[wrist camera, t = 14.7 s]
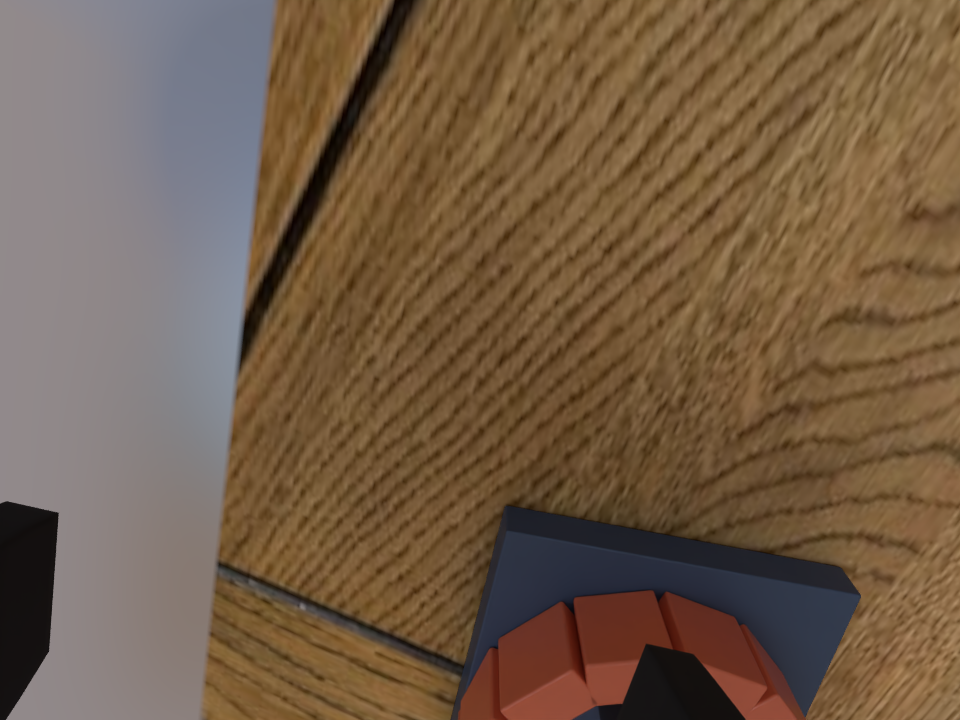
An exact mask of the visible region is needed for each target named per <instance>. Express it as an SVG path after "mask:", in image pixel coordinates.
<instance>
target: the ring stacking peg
mask: <svg viewBox="0 0 960 720" xmlns="http://www.w3.org/2000/svg"><path fill="white" fill-rule="evenodd" d="M645 590H653V591H654V593H655V596H656V599H657V602H659V601H660V599H661V597H662V596H663V594H664V593H665V592H670V593H672V594H675V595H678V596H680V597H683V598H686V599H688V600H691V601H694V602H696V603H699V604H702V605H704V606H707V607H710V608H712V609H715V610H718V611H720V612H723V613H726V614H728V615H731V616H733V617H735V618H736V620H737V622H738V625H739V626H740V625H742V624H744V625H746V626H747V627H748V629H749V630H750V631H751V633H752V634H753V635H754V637H755V638H756V639H757V640H758V642H759V643H760V644H761V646H762V647H763V648H764V650H765V651H766V652H767V654H768V655H769V656H770V657H771V659H772V660H773V661H774V663H775V664H776V665H777V667H778V668H779V669H780V671H781V672H782V673H783V675H784V677H785V679H786V681H787V683H788V685H789V687H790V689H791V691H792V693H793V695H794V697H795V699H796V701H797V703H798V705H799V707H800V709H801V711H802V713H803V715H804V717H806V714H807V712H808V710H809V708H810V706H811V704H812V701H813V699H814V697H815V695H816V693H817V691H818V689H819V686H820V684H821V682H822V680H823V678H824V676H825V673H826V671H827V669H828V667H829V665H830V663H831V660H832V658H833V656H834V654H835V652H836V650H837V648H838V645H839V643H840V641H841V639H842V637H843V635H844V632H845V630H846V628H847V626H848V624H849V622H850V619H851V617H852V615H853V613H854V611H855V609H856V607H857V604H858V602H859V600H860V598H861V595H860V593H859V592H858V590H857V589H856V588H855V586H854V585H853V584H852V582H851V581H850V579H849V578H848V577H847V575H846V574H845V573H844V571H843V570H842V568H840V567H836V566H831V565H825V564H820V563H815V562H809V561H804V560H798V559H793V558H788V557H782V556H777V555H771V554H766V553H761V552H755V551H750V550H744V549H739V548H734V547H728V546H723V545H717V544H712V543H707V542H701V541H696V540H690V539H685V538H679V537H674V536H669V535H663V534H658V533H652V532H647V531H642V530H636V529H631V528H625V527H620V526H615V525H609V524H604V523H598V522H593V521H588V520H582V519H577V518H571V517H566V516H561V515H555V514H550V513H544V512H539V511H534V510H528V509H523V508H517V507H512V506H505V508H504V512H503V516H502V520H501V523H500V527H499V531H498V535H497V539H496V543H495V547H494V551H493V555H492V559H491V563H490V567H489V571H488V575H487V579H486V583H485V586H484V590H483V594H482V598H481V602H480V606H479V610H478V614H477V618H476V622H475V626H474V630H473V634H472V638H471V642H470V646H469V650H468V653H467V657H466V661H465V665H464V669H463V673H462V677H461V681H460V685H459V689H458V693H457V697H456V701H455V705H454V709H453V713H452V716H451V720H458V712H459V711H460V708H461V700H462V698H463V696H464V694H465V693H466V691H467V689H468V687H469V685H470V683H471V682H472V680H473V678H474V676H475V674H476V672H477V671H478V669H479V667H480V665H481V663H482V661H483V659H484V658H485V656H486V654H487V652H488V650H489V649H490V648H496V649H498V640H499V638H500V637H502V636H504V635H505V634H507V633H509V632H510V631H512V630H514V629H515V628H517V627H519V626H520V625H522V624H524V623H525V622H527V621H529V620H530V619H532V618H534V617H535V616H537V615H539V614H541V613H542V612H544V611H546V610H547V609H549V608H551V607H552V606H554V605H556V604H557V603H559V602H563V603H564V604H565V605H566V606H567V607H568V608H569V610H570V611H571V612H572V613H573V614H574V603H573V601H574V598H575V597H581V596H592V595H602V594H613V593H624V592H634V591H645ZM574 615H575V614H574ZM621 706H622V704H614V705H603V706H596V707H594V708H592V709H590V710H588V711H587V712H585V713H583V714H581V715H579V716H578V717H576V718H574V719H572V720H616V719H617V716H618V714H619V711H620V709H621Z"/></svg>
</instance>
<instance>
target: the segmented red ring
mask: <svg viewBox="0 0 960 720" xmlns="http://www.w3.org/2000/svg"><path fill="white" fill-rule="evenodd" d="M573 603H574V614H575V615H574V614H573V613H572V612H571V611H570V610H569V608H568V607H567V606H566V605H565V604H564V603H563V602H559V603H557V604H556V605H554V606H552V607H551V608H549V609H547V610H546V611H544V612H542V613H541V614H539V615H537V616H535V617H534V618H532V619H530V620H529V621H527V622H525V623H524V624H522V625H520V626H519V627H517V628H515V629H514V630H512V631H510V632H509V633H507V634H505V635H504V636H502V637H500V638H499V640H498V649H496V648H490V649H489V650H488V652H487V654H486V656H485V658H484V659H483V661H482V663H481V665H480V667H479V669H478V671H477V672H476V674H475V676H474V678H473V680H472V682H471V683H470V685H469V687H468V689H467V691H466V693H465V694H464V696H463V698H462V700H461V708H460V711H459V712H458V720H572V719H574V718H576V717H578V716H579V715H581V714H583V713H585V712H587V711H588V710H590V709H592V708H594V707H596V706H603V705H614V704H623V701H624V698H625V696H626V693H627V691H628V688H629V686H630V683H631V681H632V678H633V675H634V673H635V670H636V668H637V665H638V663H639V660H640V658H641V655H642V652H643V650H644V647H645V645H646V644H651V645H655V646H660V647H664V648H669V649H673V650H678V651H682V652H687V653H691V654H694V655H695V656H696V657H697V659H698V660H699V661H700V662H701V663H702V664H703V666H704V667H705V668H706V669H707V671H708V672H709V673H710V674H711V675H712V677H713V678H714V679H715V681H716V682H717V683H718V684H719V686H720V687H721V688H722V689H723V691H724V692H725V693H726V695H727V696H728V697H729V698H730V700H731V701H732V702H733V704H734V705H735V706H736V707H737V709H738V710H739V711H740V713H741V714H742V715H743V717H744V718H745V719H746V720H806V719H805V717H804V715H803V713H802V711H801V709H800V707H799V705H798V703H797V701H796V699H795V697H794V695H793V693H792V691H791V689H790V687H789V685H788V683H787V681H786V679H785V677H784V675H783V673H782V672H781V671H780V669H779V668H778V667H777V665H776V664H775V663H774V661H773V660H772V659H771V657H770V656H769V655H768V654H767V652H766V651H765V650H764V648H763V647H762V646H761V644H760V643H759V642H758V640H757V639H756V638H755V637H754V635H753V634H752V633H751V631H750V630H749V629H748V627H747V626H746V625H744V624H742V625H740V626H739V625H738V622H737V620H736V618H735V617H733V616H731V615H728V614H726V613H723V612H720V611H718V610H715V609H712V608H710V607H707V606H704V605H702V604H699V603H696V602H694V601H691V600H688V599H686V598H683V597H680V596H678V595H675V594H672V593H670V592H665V593H664V594H663V596H662V597H661V599H660V601H659V602H657V599H656V596H655V593H654V591H653V590H645V591H634V592H624V593H613V594H602V595H592V596H581V597H575V598H574V601H573Z"/></svg>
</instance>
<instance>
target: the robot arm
mask: <svg viewBox="0 0 960 720" xmlns="http://www.w3.org/2000/svg"><path fill="white" fill-rule="evenodd" d="M58 514H59V513H57V512H52V511H48V510H44V509H39V508H35V507H30V506H25V505H21V504H17V503H12V502H8V501H7V502H3V503H1V504H0V720H6V719H7V717H8V716H9V714H10V713H11V711H12V710H13V708H14V706H15V705H16V703H17V702H18V700H19V699H20V697H21V696H22V694H23V692H24V691H25V689H26V688H27V686H28V684H29V683H30V681H31V679H32V678H33V676H34V675H35V673H36V671H37V670H38V668H39V667H40V665H41V663H42V662H43V660H44V658H45V657H46V655H47V654H48V652H49V643H50V629H51V615H52V600H53V585H54V571H55V557H56V543H57V529H58ZM616 720H746V719H745V718H744V717H743V715H742V714H741V713H740V711H739V710H738V709H737V707H736V706H735V705H734V704H733V702H732V701H731V700H730V698H729V697H728V696H727V695H726V693H725V692H724V691H723V689H722V688H721V687H720V686H719V684H718V683H717V682H716V681H715V679H714V678H713V677H712V675H711V674H710V673H709V672H708V671H707V669H706V668H705V667H704V666H703V664H702V663H701V662H700V661H699V660H698V659H697V657H696V656H695V655H694V654H691V653H687V652H682V651H678V650H673V649H669V648H664V647H660V646H655V645H651V644H646V645H645V647H644V650H643V652H642V655H641V658H640V660H639V663H638V665H637V668H636V670H635V673H634V675H633V678H632V681H631V683H630V686H629V688H628V691H627V693H626V696H625V698H624V701H623V704H622V706H621V709H620V711H619V714H618V716H617V719H616Z"/></svg>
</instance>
